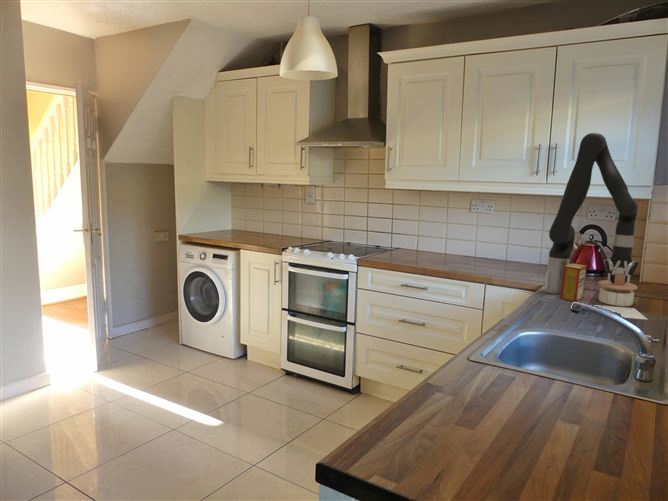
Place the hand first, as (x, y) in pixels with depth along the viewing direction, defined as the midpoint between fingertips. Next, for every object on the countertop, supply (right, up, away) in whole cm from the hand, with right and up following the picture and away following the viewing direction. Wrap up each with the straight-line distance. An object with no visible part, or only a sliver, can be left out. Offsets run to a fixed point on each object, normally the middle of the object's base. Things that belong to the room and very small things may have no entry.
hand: (618, 282), depth 221 cm
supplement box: (+12, -6, +22) cm, 26 cm away
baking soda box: (-18, -8, +6) cm, 20 cm away
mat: (-7, -12, -14) cm, 20 cm away
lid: (0, -1, 0) cm, 1 cm away
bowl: (0, -9, +2) cm, 9 cm away
